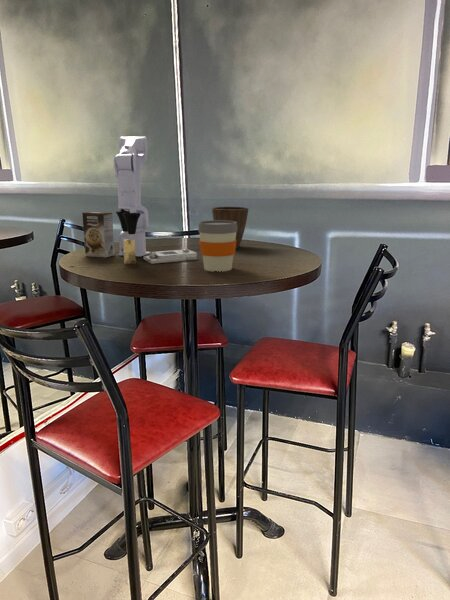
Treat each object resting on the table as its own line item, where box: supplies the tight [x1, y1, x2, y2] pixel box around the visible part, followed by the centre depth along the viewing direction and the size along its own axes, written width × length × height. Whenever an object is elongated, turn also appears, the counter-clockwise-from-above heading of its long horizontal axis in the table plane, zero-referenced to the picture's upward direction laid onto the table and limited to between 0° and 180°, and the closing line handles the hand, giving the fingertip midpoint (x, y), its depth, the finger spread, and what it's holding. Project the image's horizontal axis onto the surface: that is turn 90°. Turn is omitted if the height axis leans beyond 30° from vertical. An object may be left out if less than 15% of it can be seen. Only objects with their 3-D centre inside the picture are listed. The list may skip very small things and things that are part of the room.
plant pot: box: [211, 206, 249, 249], centre depth 192 cm, size 15×15×16 cm
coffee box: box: [81, 211, 115, 259], centre depth 174 cm, size 9×6×16 cm
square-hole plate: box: [143, 248, 198, 265], centre depth 168 cm, size 17×9×3 cm, turn 116°
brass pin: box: [123, 239, 137, 265], centre depth 161 cm, size 4×4×8 cm
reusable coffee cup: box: [197, 220, 237, 273], centre depth 151 cm, size 13×13×15 cm
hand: (128, 232), depth 159 cm, fingers open, 7 cm apart
